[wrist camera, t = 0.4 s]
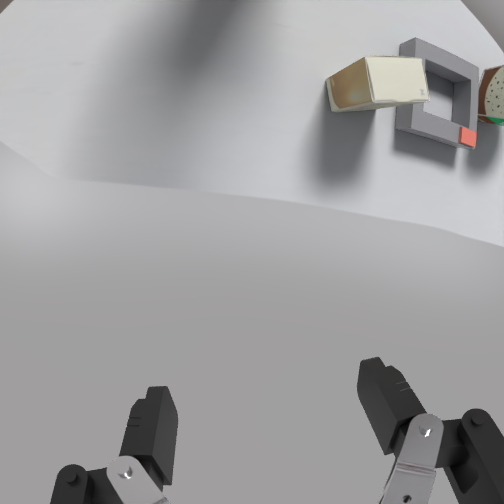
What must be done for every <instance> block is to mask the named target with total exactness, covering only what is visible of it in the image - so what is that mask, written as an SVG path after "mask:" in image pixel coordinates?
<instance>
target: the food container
mask: <svg viewBox="0 0 504 504" xmlns="http://www.w3.org/2000/svg"><path fill="white" fill-rule="evenodd" d="M477 120H478V121H481V122H487V123H492V124H498V125H503V126H504V65H501V66H497V67H493V68H489V69H485V70H484V71H483V74H482V77H481V80H480V83H479V92H478V117H477Z"/></svg>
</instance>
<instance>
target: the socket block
mask: <svg viewBox="0 0 504 504" xmlns="http://www.w3.org/2000/svg"><path fill="white" fill-rule="evenodd" d="M400 56H405V57H415V58H421V59H422V61H423V66H424V70H426V71H428V72H431V73H433V74H436V75H438V76H440V77H443V78H445V79H447V80H449V81H452V82H454V91H453V111H452V122H451V121H449V120H446V119H443V118H440V117H438V116H435V115H432V114H429V113H426V112H423V105H424V102H423V103H415V104H408V105H400V106H397V110H396V121H395V129H398V130H402V131H406V132H409V133H413V134H416V135H419V136H423V137H426V138H429V139H433V140H436V141H439V142H442V143H445V144H448V145H451V146H454V147H457V148H465V149H473V150H475V146H476V136H477V133H476V131H477V117H478V92H479V68H478V67H477V66H475V65H473V64H471V63H469V62H467V61H465V60H464V59H462V58H460V57H458V56H456V55H454V54H452V53H450V52H447V51H445V50H443V49H441V48H439V47H437V46H435V45H432V44H430V43H428V42H425V41H423V40H421V39H418V38H416V37H415V38H413V39H411V40H409V41H406V42H404V43H402V44H400Z"/></svg>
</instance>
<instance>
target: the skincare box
mask: <svg viewBox="0 0 504 504" xmlns="http://www.w3.org/2000/svg"><path fill="white" fill-rule="evenodd" d="M326 83H327V90H328V96H329V101H330V107H331V111H332V112H349V111H362V110H373V109H380V108H386V107H393V106H400V105H408V104H415V103H423V102H430V97H429V90H428V85H427V79H426V74H425V70H424V66H423V61H422V59H421V58H415V57H405V56H365V57H363V58H362V59H360V60H358V61H356V62H355V63H353V64H351V65H349V66H348V67H346V68H344V69H342V70H341V71H339V72H337V73H336V74H334V75H332V76H331V77H329V78H327V79H326Z"/></svg>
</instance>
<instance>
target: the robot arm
mask: <svg viewBox="0 0 504 504" xmlns="http://www.w3.org/2000/svg"><path fill="white" fill-rule="evenodd" d="M357 392H358V397H359V400H360V402H361V404H362V406H363V408H364V410H365V413H366V415H367V417H368V419H369V421H370V423H371V426H372V428H373V430H374V432H375V434H376V437H377V439H378V441H379V443H380V446H381V448H382V450H383V452H384V455H387V454H391V453H394V455H395V457H396V459H395V461H394V463H393V466H392V469H391V471H390V474H389V476H388V479H387V481H386V484H385V486H384V489H383V491H382V493H381V496H380V498H379V500H378V502H377V504H428V501H429V498H430V494H431V491H432V487H433V484H434V481H435V477H436V471H434V469H435V468H441V467H443V468H444V471H445V473H446V475H447V477H448V480H449V482H450V484H451V486H452V489H453V491H454V493H455V496H456V498H457V500H458V502H459V504H504V437H503V435H502V434H501V432H500V430H499V429H498V427H497V426H496V424H495V422H494V421H493V419H492V418H491V417H490V415H489V414H488V413H487V412H486V411H484V410H482V409H471V410H469V411H467V412H466V413H465V414H464V415H463V417H462V419H455V420H445V421H443V420H440V418H438V417H437V416H435V415H433V414H428V413H427V412H426V411H425V409H424V408H423V406H422V404H421V403H420V401H419V400H418V398H417V397H416V395H415V393H414V392H413V390H412V389H411V388H410V386H409V384H408V383H407V382H406V380H405V378H404V376H403V375H402V374H401V372H400V371H398V370H397V369H395V368H394V367H393V366H387V367H385V365H384V364H383V362H382V361H381V359H380V358H379V357H375V358H371V359H366V360H362V361H361V363H360V369H359V376H358V383H357ZM177 428H178V414H177V410H176V407H175V405H174V402H173V400H172V397H171V394H170V392H169V389H168V387H167V386H159V387H158V386H157V387H149V388H148V391H147V394H146V398H145V399H138V400H137V401H136V403H135V404H134V405H133V407H132V408H131V412H130V416H129V419H128V423H127V427H126V431H125V435H124V439H123V443H122V446H121V451H120V454H119V457H117V458H115V459H114V460H112V461H111V462H110V463H109V465H108V467H106V468H103V469H97V470H91V471H86V470H85V469H84V468H83V467H81V466H79V465H75V464H73V465H67V466H65V467H64V468H62V469H61V470H60V471H59V473H58V475H57V479H56V482H55V486H54V490H53V494H52V498H51V502H50V504H171V503H170V502H169V501H168V500H167V498H166V497H165V496H164V495H163V493H162V491H163V485H172V475H173V465H174V455H175V445H176V436H177Z"/></svg>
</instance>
